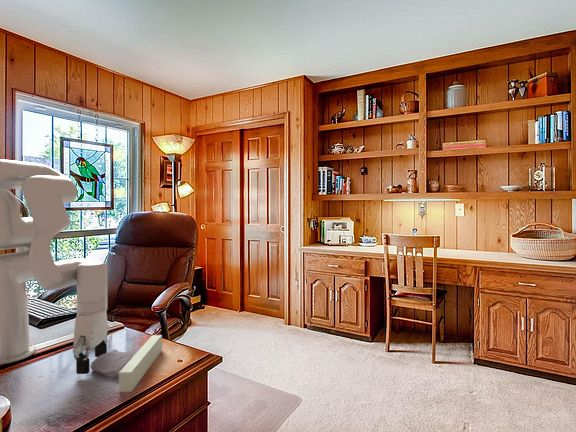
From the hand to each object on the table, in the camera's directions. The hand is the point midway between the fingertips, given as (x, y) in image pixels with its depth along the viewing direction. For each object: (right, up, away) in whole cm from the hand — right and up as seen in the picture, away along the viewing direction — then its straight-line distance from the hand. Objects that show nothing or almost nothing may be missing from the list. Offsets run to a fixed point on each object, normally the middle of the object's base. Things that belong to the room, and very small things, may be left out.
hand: (92, 364), depth 99 cm
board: (+14, -1, 0) cm, 14 cm away
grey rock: (+6, -2, 0) cm, 7 cm away
